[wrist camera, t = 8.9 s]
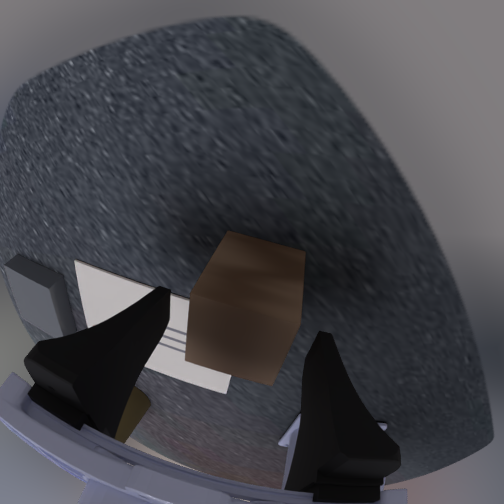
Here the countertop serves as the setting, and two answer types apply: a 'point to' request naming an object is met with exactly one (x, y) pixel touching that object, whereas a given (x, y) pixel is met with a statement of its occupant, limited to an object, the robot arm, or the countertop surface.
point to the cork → (132, 414)
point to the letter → (174, 338)
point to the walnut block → (246, 308)
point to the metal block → (40, 296)
